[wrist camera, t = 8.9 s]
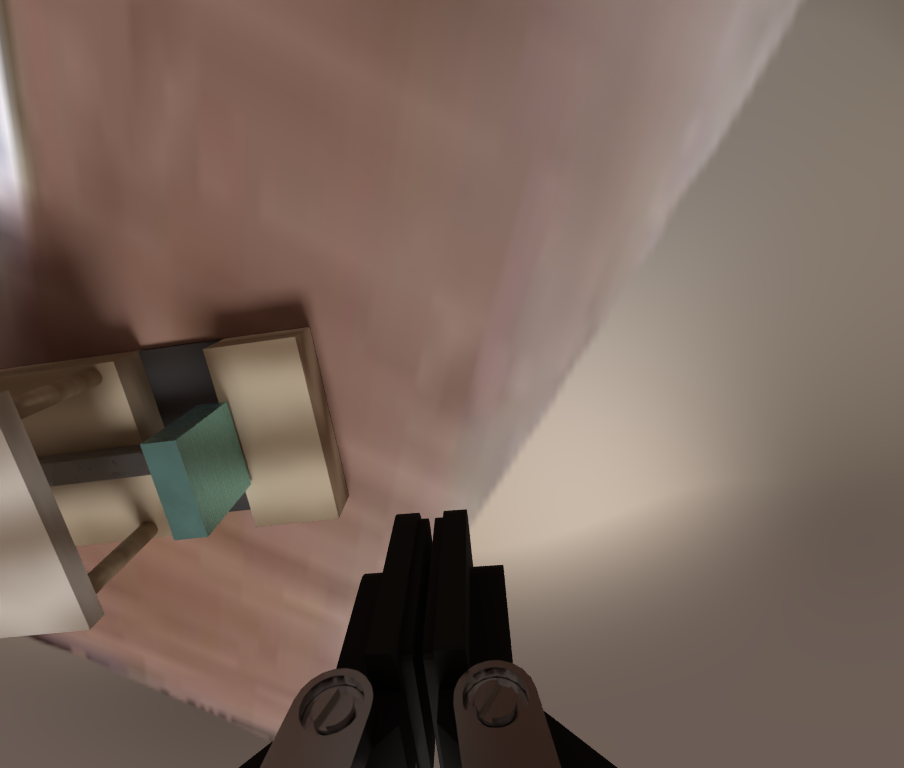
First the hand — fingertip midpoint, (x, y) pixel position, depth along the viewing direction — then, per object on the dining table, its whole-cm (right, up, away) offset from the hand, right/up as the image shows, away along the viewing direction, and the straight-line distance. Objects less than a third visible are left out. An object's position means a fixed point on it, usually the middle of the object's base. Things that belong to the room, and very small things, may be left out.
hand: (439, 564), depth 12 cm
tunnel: (-27, 0, +26) cm, 38 cm away
